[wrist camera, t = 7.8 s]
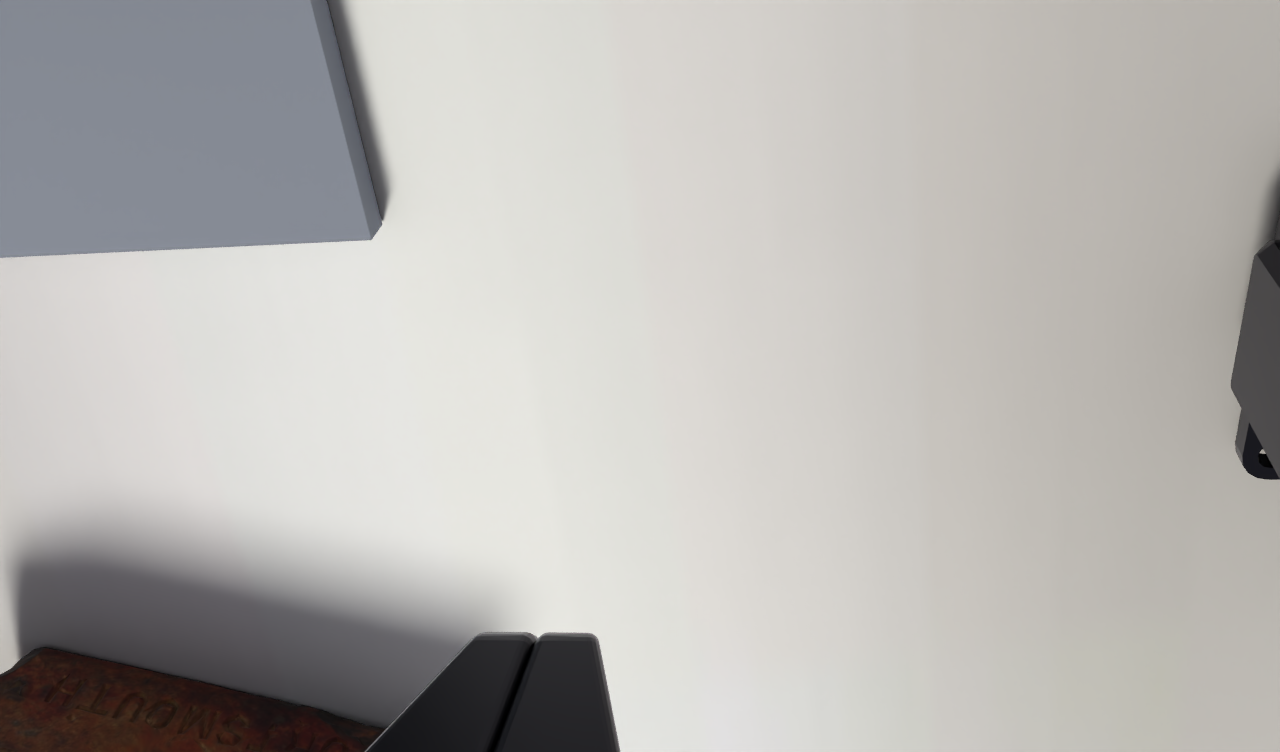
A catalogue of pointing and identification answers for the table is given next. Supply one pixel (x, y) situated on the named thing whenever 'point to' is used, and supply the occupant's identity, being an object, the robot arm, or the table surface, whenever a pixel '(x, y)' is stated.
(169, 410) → the table surface
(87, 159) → the mat
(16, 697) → the brick
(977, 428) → the table surface
